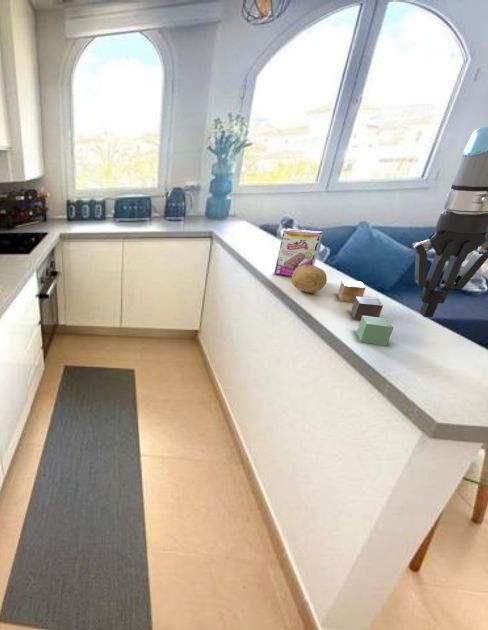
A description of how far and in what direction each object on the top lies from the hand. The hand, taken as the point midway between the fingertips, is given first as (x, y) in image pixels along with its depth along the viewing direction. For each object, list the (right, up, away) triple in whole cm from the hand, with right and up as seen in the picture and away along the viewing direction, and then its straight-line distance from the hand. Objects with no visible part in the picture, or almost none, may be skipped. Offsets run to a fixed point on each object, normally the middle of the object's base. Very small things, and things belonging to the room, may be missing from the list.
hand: (425, 314), depth 80 cm
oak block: (+4, +5, +26) cm, 27 cm away
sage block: (-8, -6, +6) cm, 11 cm away
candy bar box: (-1, +14, +47) cm, 49 cm away
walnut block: (-1, -1, +16) cm, 16 cm away
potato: (-4, +8, +34) cm, 36 cm away
